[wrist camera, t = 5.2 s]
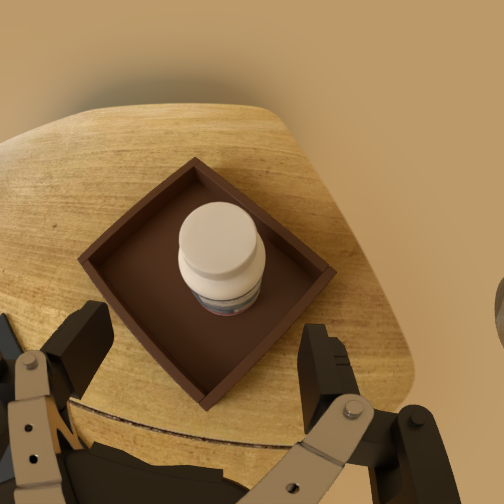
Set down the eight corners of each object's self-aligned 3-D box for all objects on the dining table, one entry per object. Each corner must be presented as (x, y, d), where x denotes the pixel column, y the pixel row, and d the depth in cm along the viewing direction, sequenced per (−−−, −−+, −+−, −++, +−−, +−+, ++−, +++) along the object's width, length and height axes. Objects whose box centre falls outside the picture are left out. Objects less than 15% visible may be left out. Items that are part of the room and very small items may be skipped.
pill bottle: (196, 251, 24) (174, 189, 15) (260, 252, 24) (269, 190, 16) (191, 315, 22) (160, 282, 13) (260, 318, 22) (270, 286, 14)
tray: (328, 281, 23) (337, 271, 21) (210, 407, 19) (206, 412, 17) (198, 173, 27) (195, 156, 25) (89, 268, 23) (76, 258, 21)
